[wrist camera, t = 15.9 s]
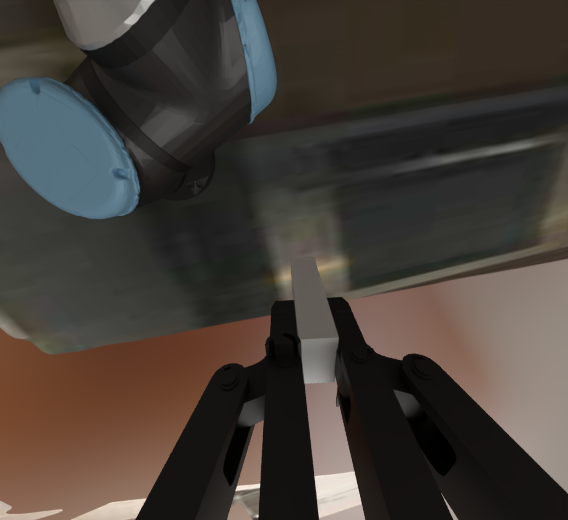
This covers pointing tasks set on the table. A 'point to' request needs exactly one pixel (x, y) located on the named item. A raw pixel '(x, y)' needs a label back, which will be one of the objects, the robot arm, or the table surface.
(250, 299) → the table surface
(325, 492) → the table surface
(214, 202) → the table surface
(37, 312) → the table surface
